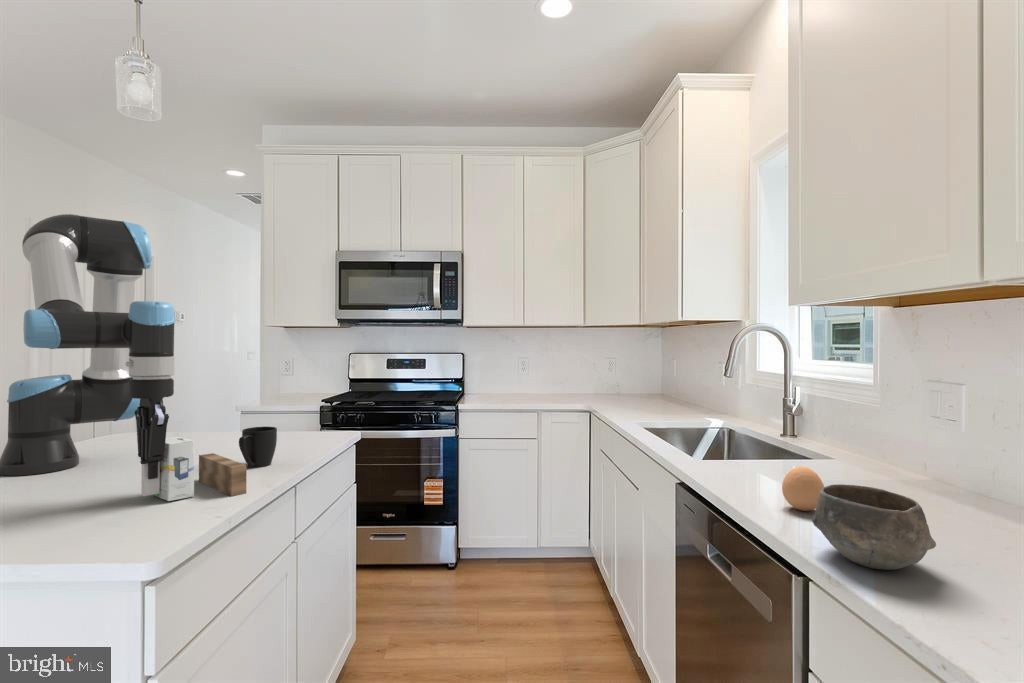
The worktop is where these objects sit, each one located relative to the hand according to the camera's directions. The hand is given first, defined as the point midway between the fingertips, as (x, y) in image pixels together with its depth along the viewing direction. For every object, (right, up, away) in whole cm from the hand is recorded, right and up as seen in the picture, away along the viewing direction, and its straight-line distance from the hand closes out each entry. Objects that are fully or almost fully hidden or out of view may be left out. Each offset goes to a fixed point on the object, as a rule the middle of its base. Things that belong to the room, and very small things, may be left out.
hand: (150, 493), depth 103 cm
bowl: (+127, -2, -26) cm, 130 cm away
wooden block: (+8, -2, +10) cm, 14 cm away
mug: (+7, -2, +29) cm, 30 cm away
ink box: (+2, -2, +3) cm, 4 cm away
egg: (+131, -2, -3) cm, 131 cm away
